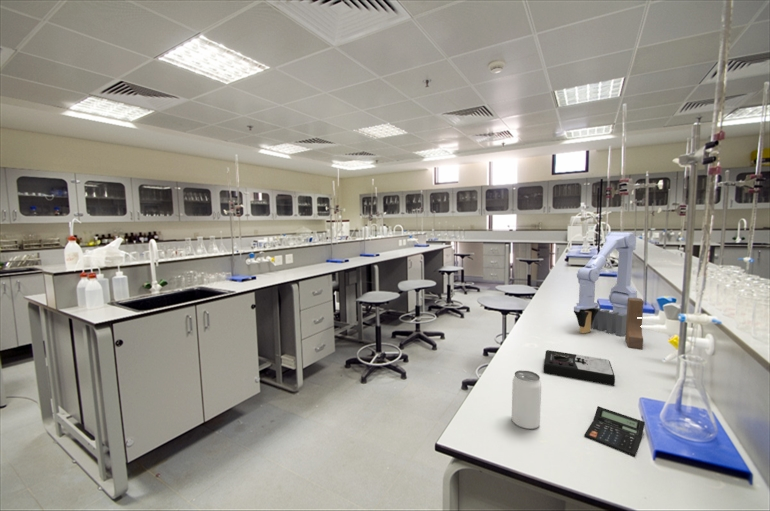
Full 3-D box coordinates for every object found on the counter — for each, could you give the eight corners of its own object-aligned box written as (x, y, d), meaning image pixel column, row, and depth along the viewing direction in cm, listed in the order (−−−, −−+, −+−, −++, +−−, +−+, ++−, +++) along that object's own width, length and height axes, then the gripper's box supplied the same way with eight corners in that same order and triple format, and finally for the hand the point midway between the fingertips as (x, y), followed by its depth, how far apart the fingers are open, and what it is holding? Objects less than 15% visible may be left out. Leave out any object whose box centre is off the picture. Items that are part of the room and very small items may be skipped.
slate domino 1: (595, 326, 153) (596, 307, 152) (599, 327, 151) (600, 308, 151) (589, 327, 151) (590, 308, 150) (593, 329, 149) (594, 309, 148)
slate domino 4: (622, 333, 143) (623, 313, 142) (627, 334, 141) (628, 314, 140) (615, 335, 141) (617, 314, 140) (621, 336, 139) (622, 315, 138)
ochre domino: (586, 330, 147) (587, 310, 146) (590, 331, 145) (591, 311, 144) (579, 332, 144) (580, 312, 143) (583, 333, 143) (584, 313, 142)
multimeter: (545, 359, 118) (545, 345, 118) (609, 370, 109) (610, 355, 109) (543, 374, 107) (544, 359, 106) (614, 387, 98) (615, 371, 97)
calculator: (584, 437, 75) (584, 425, 75) (597, 416, 83) (598, 405, 83) (634, 458, 69) (635, 445, 68) (643, 433, 77) (644, 421, 76)
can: (516, 411, 86) (517, 367, 84) (543, 420, 81) (544, 374, 80) (507, 423, 81) (508, 376, 79) (535, 433, 76) (537, 384, 75)
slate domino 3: (612, 330, 146) (613, 311, 146) (617, 332, 145) (618, 312, 144) (606, 332, 144) (607, 312, 143) (611, 334, 143) (612, 313, 142)
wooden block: (642, 349, 125) (646, 303, 123) (628, 347, 127) (631, 302, 125) (638, 342, 133) (641, 298, 131) (625, 340, 135) (627, 297, 133)
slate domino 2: (603, 328, 150) (604, 309, 149) (608, 329, 148) (609, 310, 147) (597, 330, 148) (598, 310, 147) (602, 331, 146) (603, 311, 145)
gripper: (587, 291, 150) (586, 320, 151) (567, 295, 143) (566, 325, 145) (603, 294, 144) (602, 324, 145) (583, 298, 137) (582, 330, 138)
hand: (585, 325), depth 144 cm, fingers closed on ochre domino, 5 cm apart
